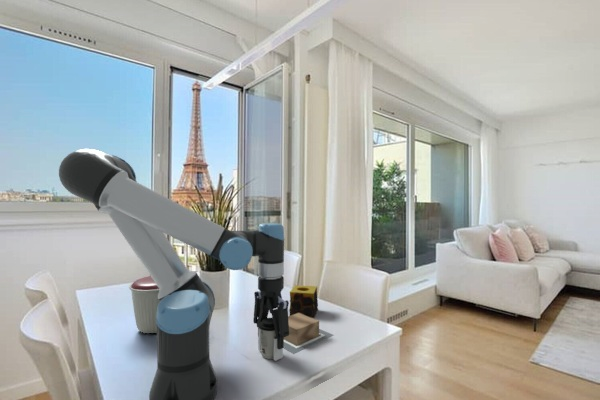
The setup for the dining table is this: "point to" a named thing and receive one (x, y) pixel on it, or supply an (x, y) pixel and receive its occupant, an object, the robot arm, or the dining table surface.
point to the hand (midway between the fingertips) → (270, 353)
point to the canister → (145, 304)
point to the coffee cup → (267, 337)
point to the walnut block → (302, 328)
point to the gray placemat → (295, 349)
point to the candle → (304, 300)
